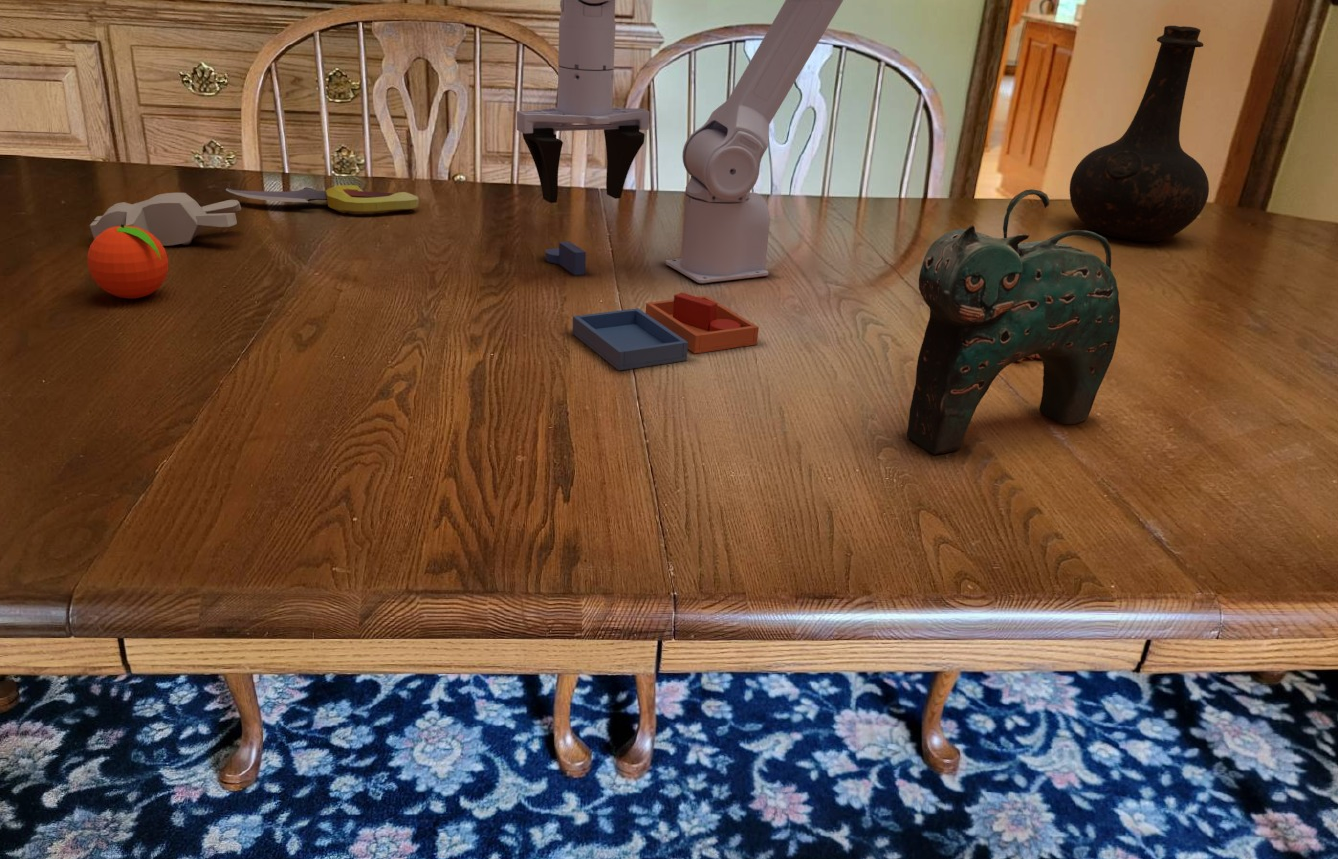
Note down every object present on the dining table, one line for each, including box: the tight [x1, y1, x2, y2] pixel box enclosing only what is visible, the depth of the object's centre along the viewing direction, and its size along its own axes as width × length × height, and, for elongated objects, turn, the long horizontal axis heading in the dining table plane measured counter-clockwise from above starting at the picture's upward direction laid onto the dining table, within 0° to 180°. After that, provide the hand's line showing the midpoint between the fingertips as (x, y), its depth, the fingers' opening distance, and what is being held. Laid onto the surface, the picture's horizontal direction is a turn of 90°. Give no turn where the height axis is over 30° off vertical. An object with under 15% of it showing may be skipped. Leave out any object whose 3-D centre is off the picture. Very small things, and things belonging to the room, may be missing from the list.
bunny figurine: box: [89, 192, 242, 247], centre depth 118 cm, size 10×5×15 cm
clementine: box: [87, 224, 169, 300], centre depth 100 cm, size 8×7×7 cm
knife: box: [225, 184, 420, 214], centre depth 136 cm, size 8×3×25 cm
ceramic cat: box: [906, 188, 1121, 456], centre depth 82 cm, size 20×6×20 cm, turn 117°
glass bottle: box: [1069, 25, 1210, 243], centre depth 145 cm, size 18×18×28 cm
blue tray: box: [572, 307, 688, 372], centre depth 98 cm, size 7×10×2 cm
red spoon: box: [673, 292, 741, 332], centre depth 103 cm, size 7×3×3 cm, turn 53°
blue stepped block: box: [545, 241, 587, 276], centre depth 120 cm, size 7×3×3 cm, turn 29°
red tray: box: [645, 295, 760, 354], centre depth 103 cm, size 7×10×2 cm
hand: (582, 198), depth 114 cm, fingers open, 7 cm apart
